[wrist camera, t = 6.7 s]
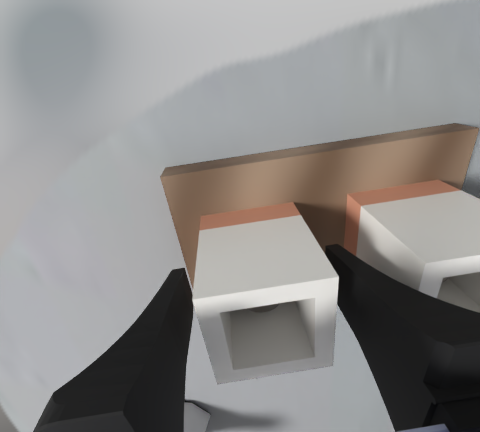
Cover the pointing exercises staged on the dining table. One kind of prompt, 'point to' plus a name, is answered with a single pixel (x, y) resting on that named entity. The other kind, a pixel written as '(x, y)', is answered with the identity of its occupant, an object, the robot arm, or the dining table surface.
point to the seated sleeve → (420, 238)
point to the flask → (195, 418)
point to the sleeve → (264, 294)
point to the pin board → (313, 180)
